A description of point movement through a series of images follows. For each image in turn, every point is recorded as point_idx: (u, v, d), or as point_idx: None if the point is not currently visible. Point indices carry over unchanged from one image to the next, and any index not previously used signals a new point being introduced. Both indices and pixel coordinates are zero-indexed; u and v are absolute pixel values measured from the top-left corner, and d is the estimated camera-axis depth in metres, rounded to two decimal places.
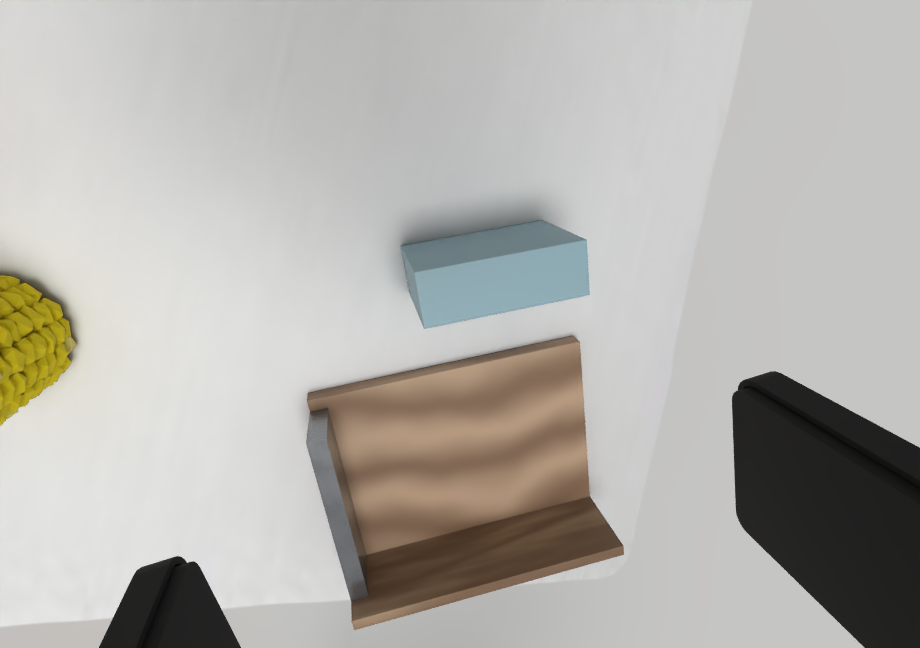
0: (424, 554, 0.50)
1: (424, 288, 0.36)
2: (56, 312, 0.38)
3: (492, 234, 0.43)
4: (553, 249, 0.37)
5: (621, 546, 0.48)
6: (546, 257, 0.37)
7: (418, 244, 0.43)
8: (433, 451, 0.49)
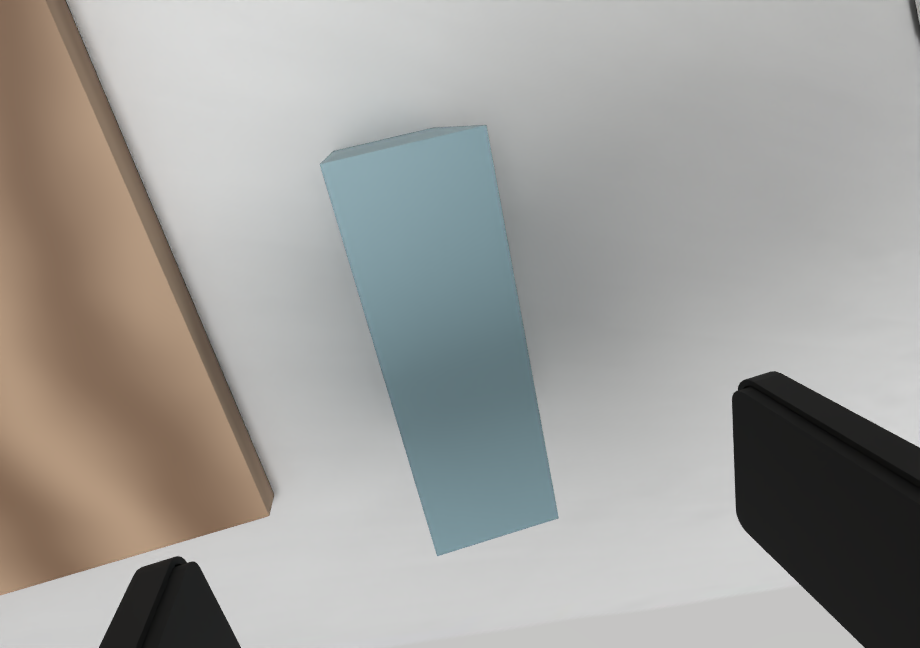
0: None
1: (442, 157, 0.13)
2: None
3: None
4: (540, 457, 0.16)
5: None
6: (522, 447, 0.16)
7: None
8: None
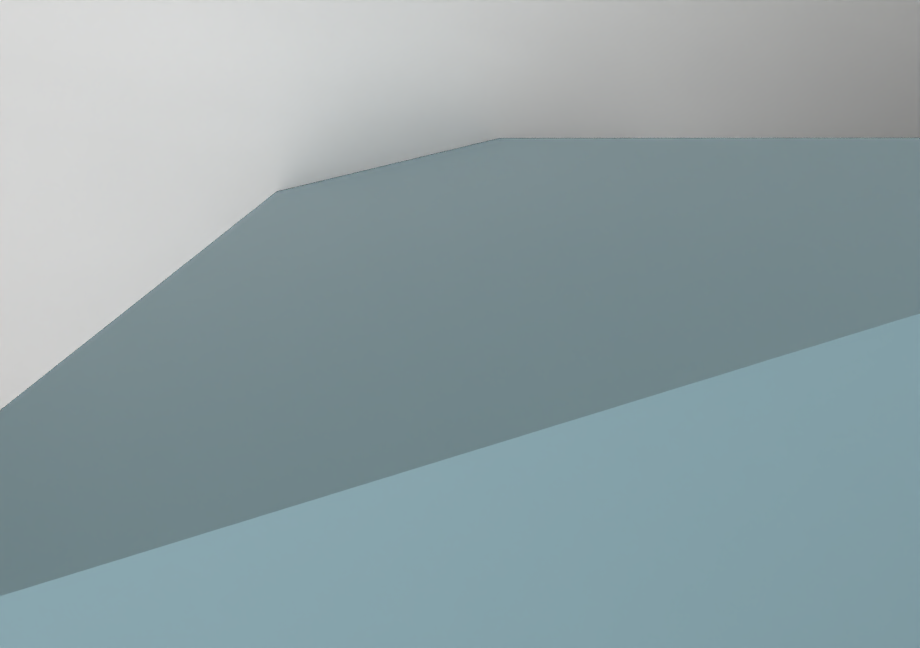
0: None
1: None
2: None
3: None
4: None
5: None
6: None
7: None
8: None
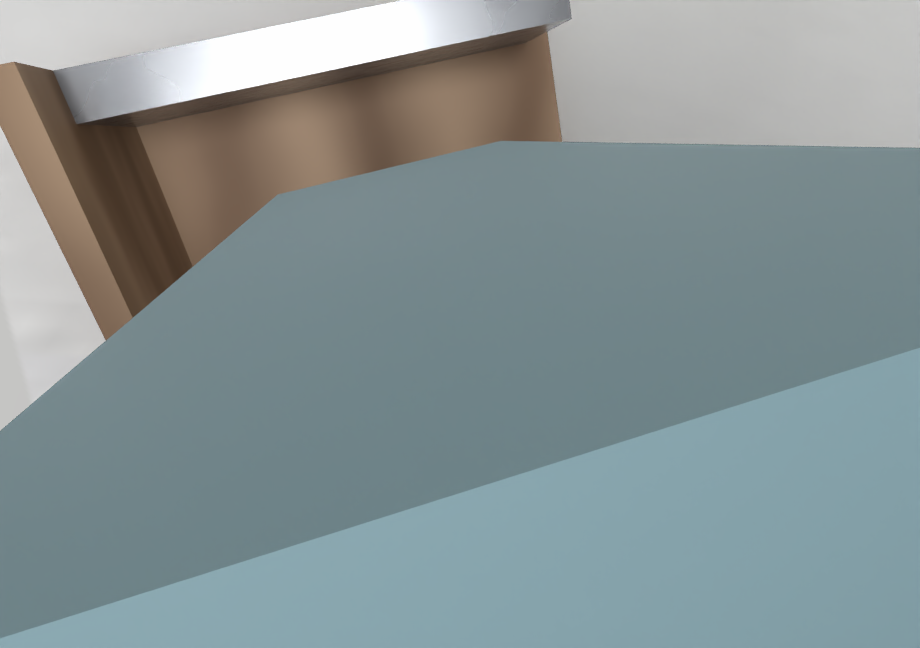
0: (176, 268, 0.21)
1: None
2: None
3: None
4: None
5: None
6: None
7: None
8: None
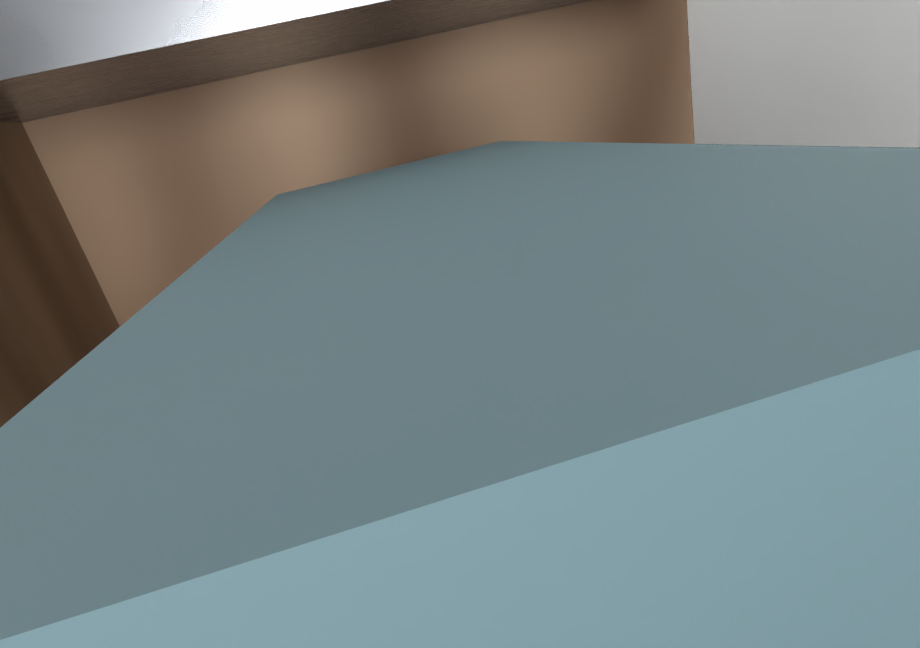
0: None
1: None
2: None
3: None
4: None
5: None
6: None
7: None
8: None
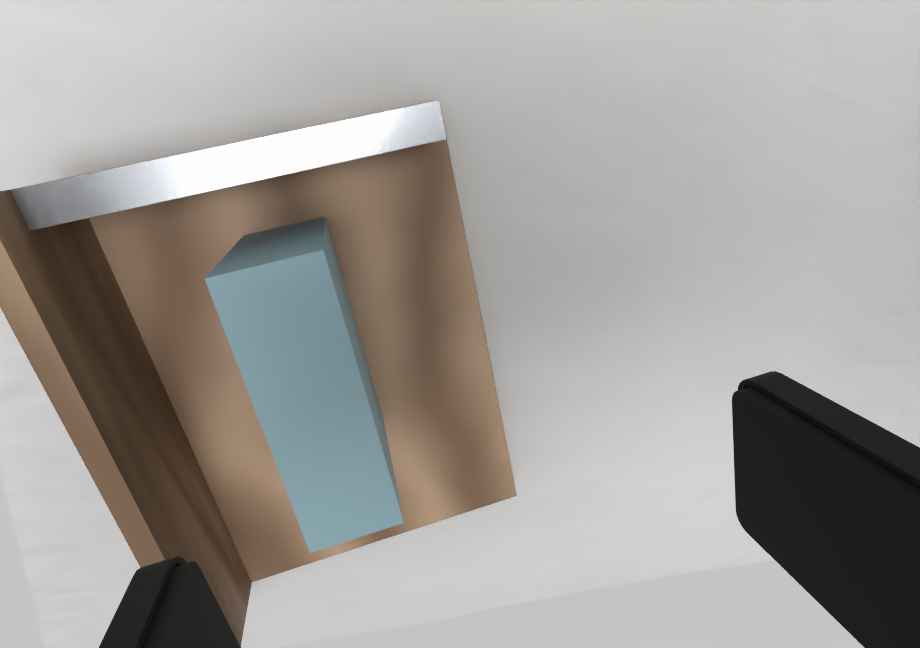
0: (121, 334, 0.25)
1: (292, 271, 0.19)
2: None
3: (364, 359, 0.28)
4: (384, 477, 0.22)
5: None
6: (370, 470, 0.22)
7: (332, 245, 0.27)
8: None
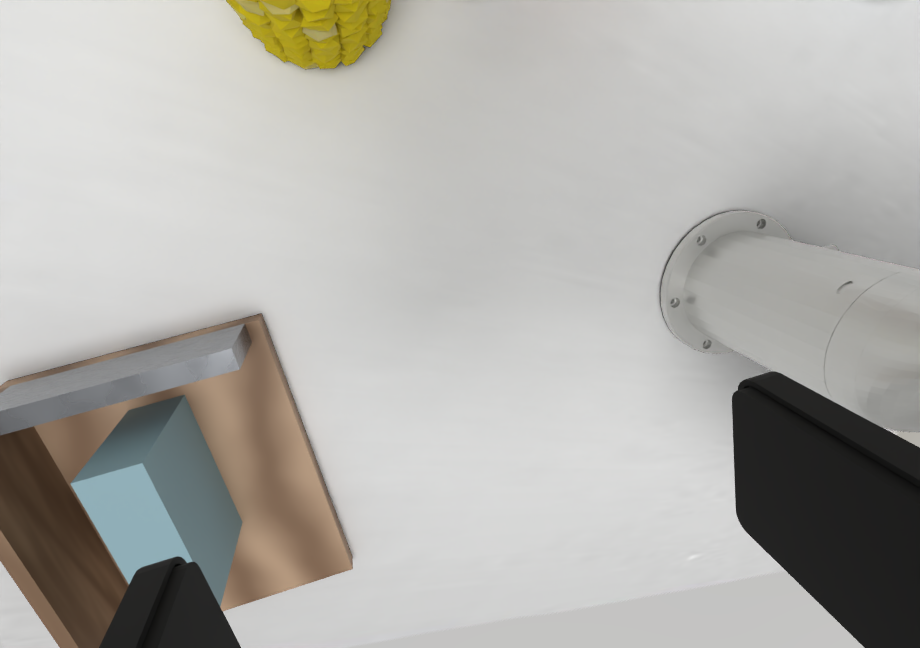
0: (45, 482, 0.38)
1: (124, 475, 0.31)
2: (350, 61, 0.35)
3: (214, 489, 0.40)
4: None
5: None
6: None
7: (189, 415, 0.39)
8: None
